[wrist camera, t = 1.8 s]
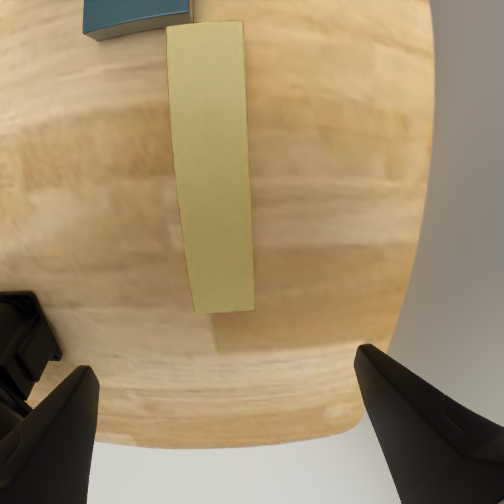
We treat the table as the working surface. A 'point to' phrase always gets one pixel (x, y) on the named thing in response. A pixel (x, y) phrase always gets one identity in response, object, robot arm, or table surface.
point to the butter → (212, 161)
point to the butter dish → (133, 16)
